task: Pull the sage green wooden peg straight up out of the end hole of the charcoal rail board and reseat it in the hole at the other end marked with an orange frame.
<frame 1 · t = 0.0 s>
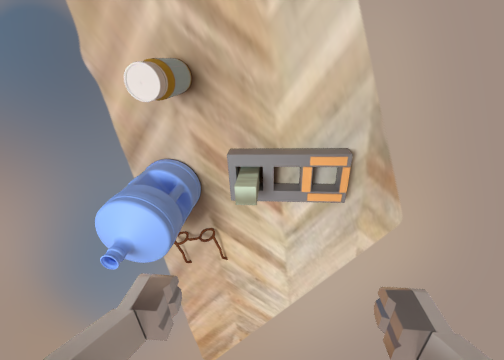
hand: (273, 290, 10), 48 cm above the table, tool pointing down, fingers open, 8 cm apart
glasses: (203, 244, 75), on the table
lidded canister: (177, 76, 52), on the table
rail board: (286, 172, 60), on the table
peg: (251, 171, 61), resting in rail board
water jug: (174, 184, 65), on the table
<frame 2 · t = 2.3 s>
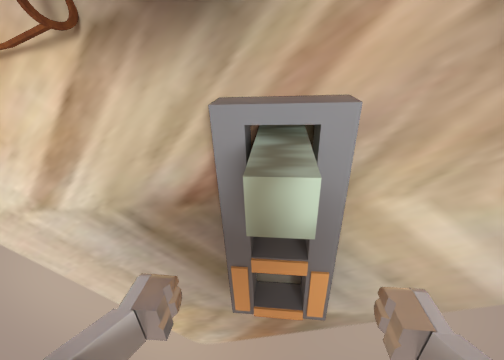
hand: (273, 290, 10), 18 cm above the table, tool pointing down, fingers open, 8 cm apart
rail board: (280, 214, 29), on the table
peg: (281, 145, 25), resting in rail board
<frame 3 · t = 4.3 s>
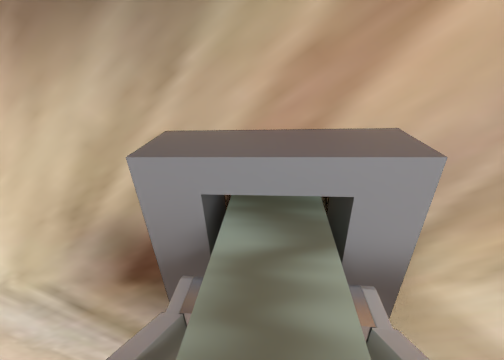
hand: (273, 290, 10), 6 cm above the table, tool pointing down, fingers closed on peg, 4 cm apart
rail board: (274, 299, 19), on the table
peg: (275, 206, 15), resting in rail board, touching gripper
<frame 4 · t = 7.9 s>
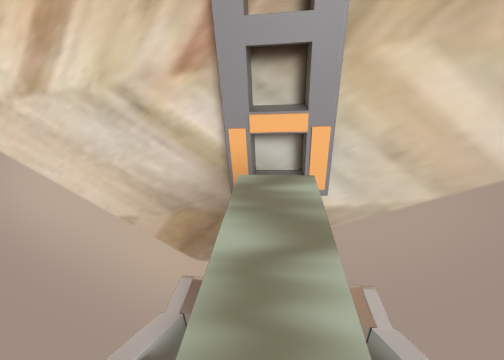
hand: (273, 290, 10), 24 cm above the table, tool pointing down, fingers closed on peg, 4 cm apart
rail board: (278, 76, 28), on the table
peg: (275, 206, 15), point 18 cm above the table, touching gripper
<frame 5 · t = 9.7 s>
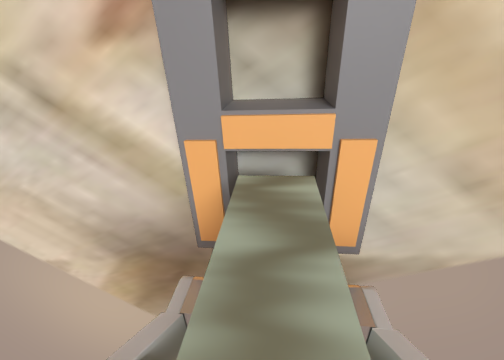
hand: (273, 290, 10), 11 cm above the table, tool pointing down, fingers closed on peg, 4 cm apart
rail board: (277, 47, 16), on the table
peg: (275, 207, 15), point 5 cm above the table, touching gripper
when the fingers open (7 cm above the table, at t = 11.4 s): peg stays where it is, resting in rail board.
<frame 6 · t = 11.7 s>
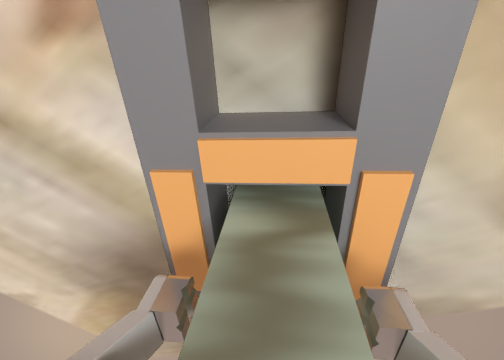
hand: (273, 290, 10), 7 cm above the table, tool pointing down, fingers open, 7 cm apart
rail board: (275, 46, 12), on the table
peg: (277, 199, 16), resting in rail board
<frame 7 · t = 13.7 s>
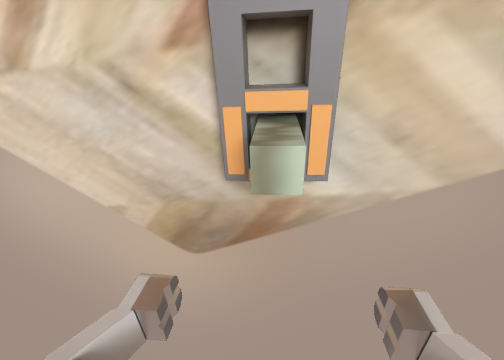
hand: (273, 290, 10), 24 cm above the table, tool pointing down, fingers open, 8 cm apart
rail board: (276, 53, 26), on the table
peg: (277, 132, 31), resting in rail board
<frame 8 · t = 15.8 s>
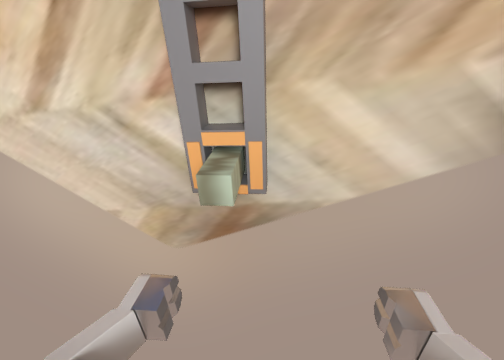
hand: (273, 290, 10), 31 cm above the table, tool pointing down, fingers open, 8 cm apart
rail board: (226, 102, 37), on the table
peg: (231, 156, 41), resting in rail board
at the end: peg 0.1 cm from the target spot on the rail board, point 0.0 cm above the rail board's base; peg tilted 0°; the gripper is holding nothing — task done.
